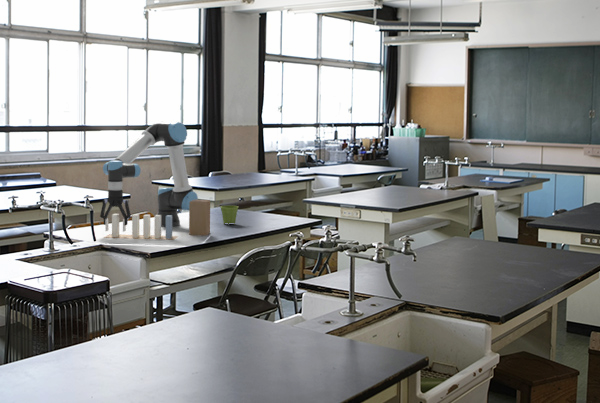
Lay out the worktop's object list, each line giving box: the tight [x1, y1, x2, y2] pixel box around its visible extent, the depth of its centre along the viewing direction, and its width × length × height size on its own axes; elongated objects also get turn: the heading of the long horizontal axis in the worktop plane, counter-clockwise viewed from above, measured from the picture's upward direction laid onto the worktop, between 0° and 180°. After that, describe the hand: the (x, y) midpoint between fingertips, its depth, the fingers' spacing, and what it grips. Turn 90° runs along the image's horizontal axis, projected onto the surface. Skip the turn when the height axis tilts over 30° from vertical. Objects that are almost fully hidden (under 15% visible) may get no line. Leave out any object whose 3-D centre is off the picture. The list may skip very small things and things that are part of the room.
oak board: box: [103, 233, 179, 241], centre depth 367 cm, size 12×38×1 cm, turn 89°
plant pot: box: [219, 205, 239, 224], centre depth 427 cm, size 12×12×11 cm
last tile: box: [165, 215, 173, 239], centre depth 366 cm, size 5×3×12 cm, turn 179°
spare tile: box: [111, 213, 120, 237], centre depth 367 cm, size 5×3×12 cm, turn 179°
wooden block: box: [188, 199, 211, 237], centre depth 381 cm, size 10×10×20 cm
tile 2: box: [131, 213, 140, 238], centre depth 366 cm, size 5×3×12 cm, turn 179°
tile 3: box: [142, 214, 151, 238], centre depth 366 cm, size 5×3×12 cm, turn 179°
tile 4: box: [153, 214, 162, 238], centre depth 366 cm, size 5×3×12 cm, turn 179°
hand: (115, 230), depth 367 cm, fingers open, 9 cm apart
